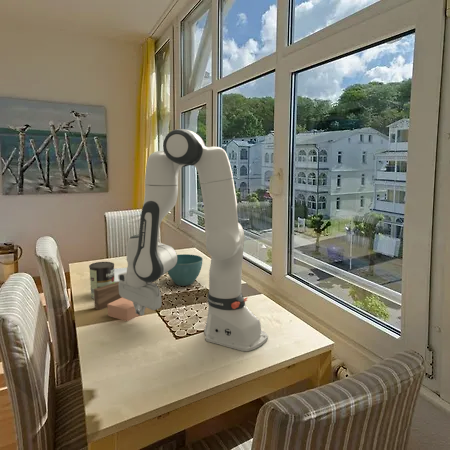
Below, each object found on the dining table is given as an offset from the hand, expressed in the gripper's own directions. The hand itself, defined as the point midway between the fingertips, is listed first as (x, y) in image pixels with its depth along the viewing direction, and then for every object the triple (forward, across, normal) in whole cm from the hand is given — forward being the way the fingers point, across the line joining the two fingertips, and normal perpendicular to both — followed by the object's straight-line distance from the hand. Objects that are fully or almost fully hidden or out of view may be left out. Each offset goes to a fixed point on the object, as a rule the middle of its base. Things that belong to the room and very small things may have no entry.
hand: (139, 314), depth 132 cm
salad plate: (+4, +45, -25) cm, 52 cm away
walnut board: (+3, +22, -7) cm, 24 cm away
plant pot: (+3, +18, -42) cm, 46 cm away
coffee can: (+4, +34, -7) cm, 34 cm away
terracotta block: (+4, +10, -1) cm, 10 cm away
